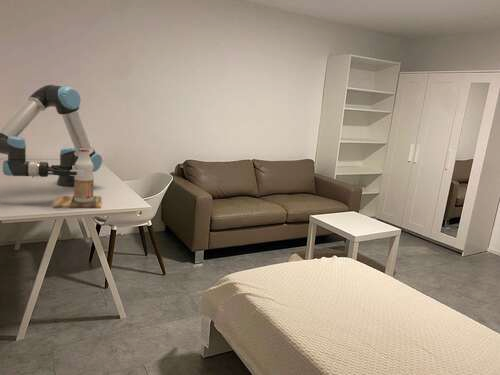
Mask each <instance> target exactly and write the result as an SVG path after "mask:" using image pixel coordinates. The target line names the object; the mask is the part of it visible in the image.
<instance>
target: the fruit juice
mask: <svg viewBox="0 0 500 375" xmlns="http://www.w3.org/2000/svg"><path fill="white" fill-rule="evenodd" d="M79 152H80V154H79V157H78V160H77V161H76V163H75V170H78V171H84V176H74V186H73V187H74V189H73V192H74V193H73V196H74V200H75V201H76V202H79V203H88V202H92V201H93V196H94V183H95V182H94V181H95V180H94V178H95V177H94V176H95V175H94V172H93V167H94V166H93V163H92V161H91V159H90V156H89V149H79Z"/></svg>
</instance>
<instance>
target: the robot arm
mask: <svg viewBox="0 0 500 375" xmlns="http://www.w3.org/2000/svg"><path fill="white" fill-rule="evenodd" d="M81 101H82V99H81V95H80V93H79V91H78V90H77V89H76V88H74V87H71V86H66V85H64V86H62V85H55V84H48V85H43V86H42V87H40V88H38V89H37V90H35V91H33V92H32V94H31V95H30V96H29V97H28V99H27V102H26V103H25V104H24V106H22V107H21V108H20V110H18V112H16V114H14V116H12V117H11V119H10V120H9V121H8V122H7V123H6V124H5V125H4V126H3V127H2V128H1V129H0V154H2V155H7V160H4V161H3V162H2V172H3V173H2V174H4V175H5V176H8V177H9V176H10V177H11V176H12V177H31V178H33V179H34V178H35V177H40V178H48V176H52V175H53V176H58V178H57V180H56V184H57V185H59V186H62V187H74V176H84V171H78V170H75V163H76V161H77V160H78V157H79V154H80V152H79V149H89V156H90V159H91V161H92V163H93V166H94V167H93V173H94V172H98V170H100V168H101V166H102V163H103V158H102V155H101V154H99V153H97V152H96V150H95V148H94V147H93V146H91V145H90V142H89V139H88V136H87V133H86V131H85V128H84V125H83V122H82V120H81V116H80V114H79V110H80V105H81ZM50 107H53V108H54V107H55V109H56V112H57V114H58V115H61V116H62V119H63V122H64V124H65V127H66V129H67V131H68V134H69V137H70V140H71V142H72V145H73V147H68V148H67V147H65V148H61V150H60V154H59V160H60V161H59V163H60V164H59V165H58V164H56V165H55V164H52V165H50V166H49V163H48V161H40V162H39V161H26V160H27V158H26V154H27V153H26V150H27V149H26V148H27V145H26V140H25V138H24V137H22V136H19V135H20V134H22V132H23V131H24V130H25V129H26V128H27V127H28V126H29V125H30V124H31V122H32V121H33V120H34V119H35V118H36V117H37V116H38V115H39V114H40V113H41V112H44V111H45V110H46V109H47V108H50Z"/></svg>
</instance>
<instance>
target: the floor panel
mask: <svg viewBox="0 0 500 375" xmlns="http://www.w3.org/2000/svg"><path fill="white" fill-rule="evenodd" d="M101 208H102V196H101V195H99V196H95V195H93V201H92V202H88V203H79V202H76V201H75V200H74V195H58V196H57V197H56V199H55V201H54V203H53V209H101Z"/></svg>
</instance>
